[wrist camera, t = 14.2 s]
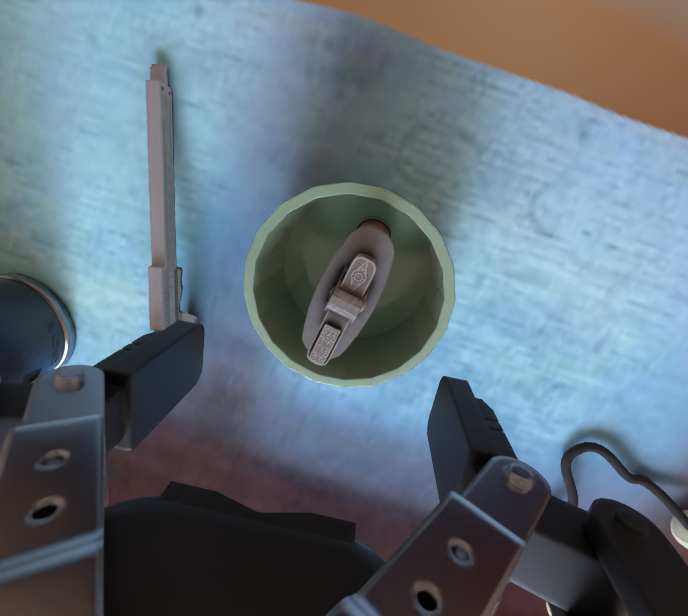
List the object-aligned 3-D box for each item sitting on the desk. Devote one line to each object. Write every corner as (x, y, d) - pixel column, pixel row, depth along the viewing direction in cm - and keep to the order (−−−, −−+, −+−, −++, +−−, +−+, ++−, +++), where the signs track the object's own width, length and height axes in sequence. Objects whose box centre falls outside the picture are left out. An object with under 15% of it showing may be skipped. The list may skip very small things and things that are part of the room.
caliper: (202, 340, 31) (158, 377, 25) (190, 340, 31) (144, 376, 25) (169, 65, 25) (100, 27, 19) (154, 65, 25) (81, 27, 19)
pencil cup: (271, 323, 30) (236, 364, 23) (289, 169, 26) (254, 163, 19) (415, 353, 29) (424, 405, 22) (456, 201, 25) (483, 206, 18)
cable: (456, 535, 35) (470, 593, 31) (587, 430, 29) (628, 483, 25) (571, 591, 38) (599, 651, 34) (711, 506, 32) (768, 566, 28)
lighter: (360, 207, 25) (345, 219, 16) (402, 229, 26) (412, 253, 16) (313, 304, 28) (277, 363, 19) (352, 323, 28) (336, 391, 19)
